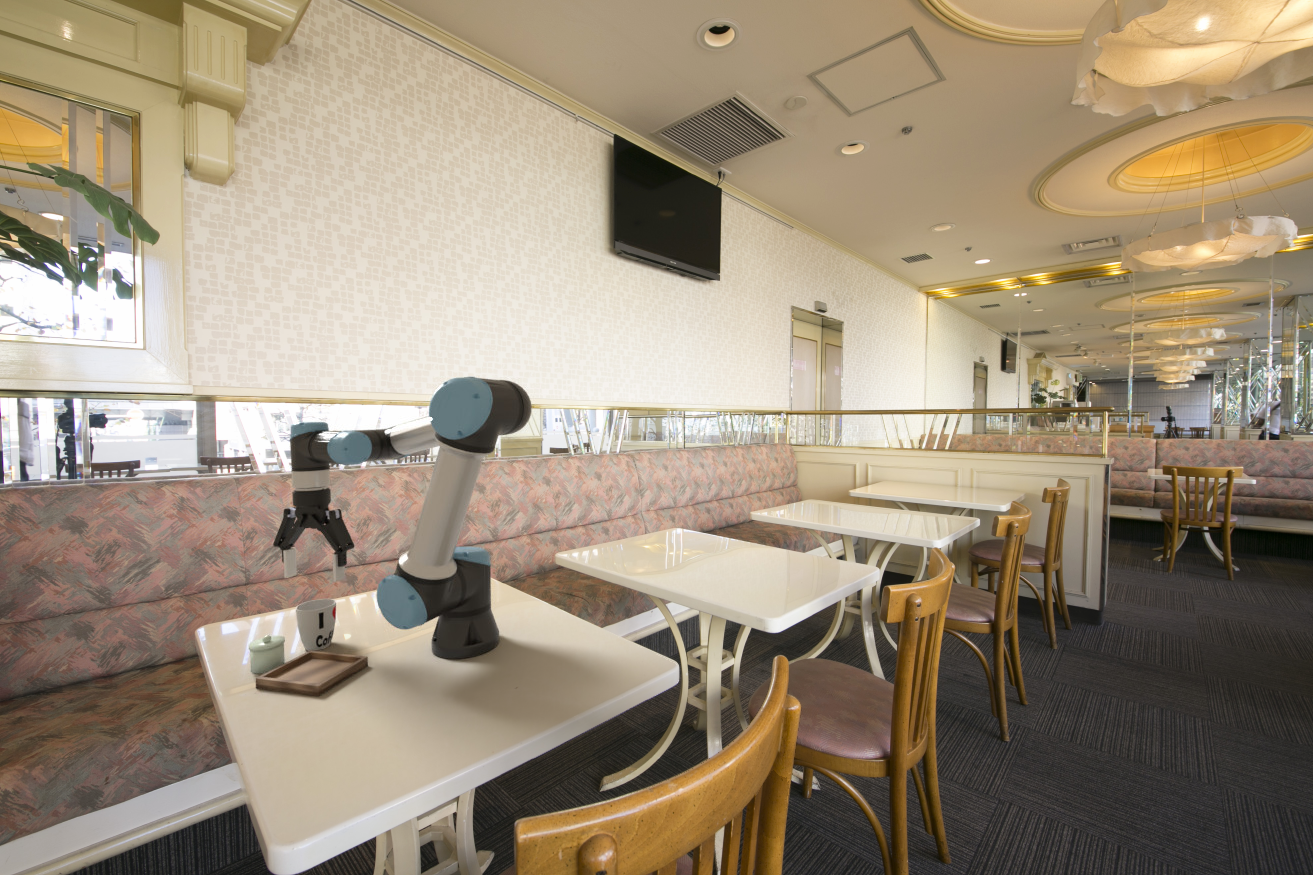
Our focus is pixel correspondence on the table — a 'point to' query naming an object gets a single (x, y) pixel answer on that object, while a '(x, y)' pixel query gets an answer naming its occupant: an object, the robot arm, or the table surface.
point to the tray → (312, 673)
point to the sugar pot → (266, 654)
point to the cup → (316, 623)
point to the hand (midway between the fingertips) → (314, 578)
